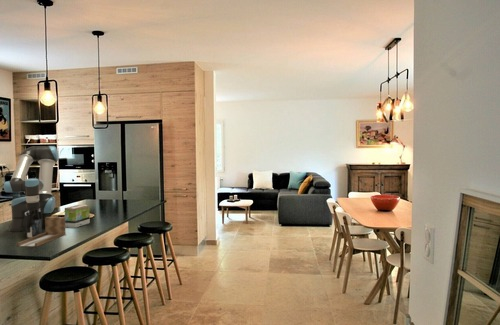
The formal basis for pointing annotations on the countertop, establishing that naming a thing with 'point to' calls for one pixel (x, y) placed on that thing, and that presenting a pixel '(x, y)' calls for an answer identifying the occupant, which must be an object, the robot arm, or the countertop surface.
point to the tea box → (77, 216)
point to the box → (36, 227)
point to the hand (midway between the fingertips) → (34, 235)
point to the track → (47, 232)
